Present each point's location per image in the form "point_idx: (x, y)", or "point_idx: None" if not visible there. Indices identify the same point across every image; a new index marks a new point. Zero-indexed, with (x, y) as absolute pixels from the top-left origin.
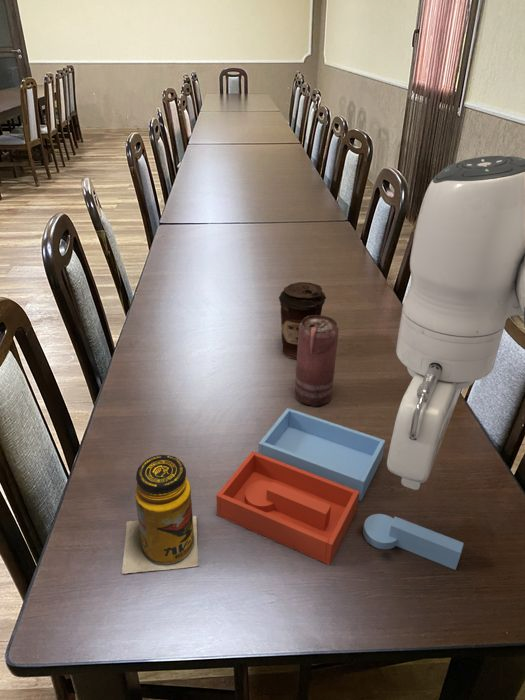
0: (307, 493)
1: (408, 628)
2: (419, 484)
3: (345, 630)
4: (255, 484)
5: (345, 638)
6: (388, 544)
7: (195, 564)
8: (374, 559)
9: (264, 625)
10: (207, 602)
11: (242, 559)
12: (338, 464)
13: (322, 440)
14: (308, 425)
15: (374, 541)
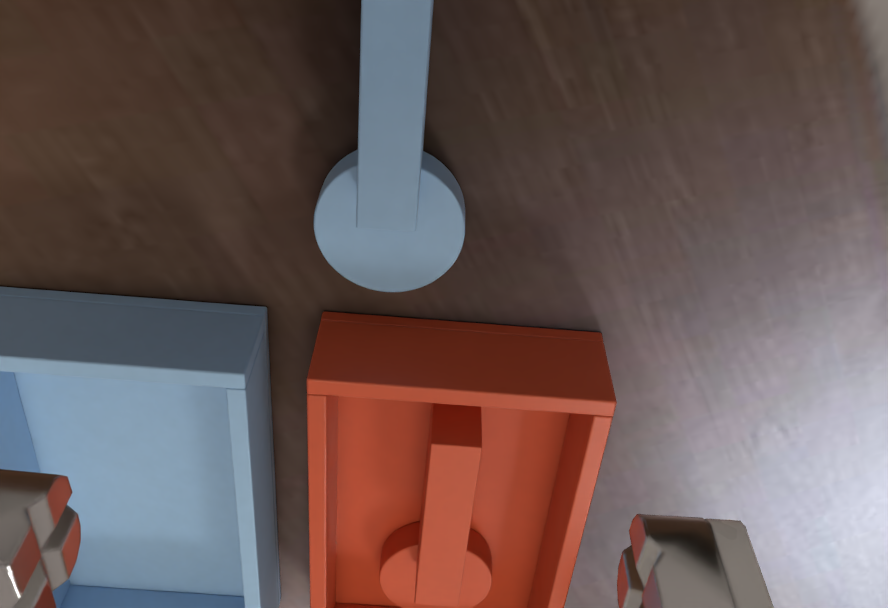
0: (341, 464)
1: (787, 39)
2: (757, 561)
3: (837, 233)
4: (410, 603)
5: (866, 227)
6: (454, 190)
7: None
8: (519, 208)
9: (862, 425)
10: (819, 547)
11: None
12: (141, 418)
13: None
14: None
15: (463, 239)
